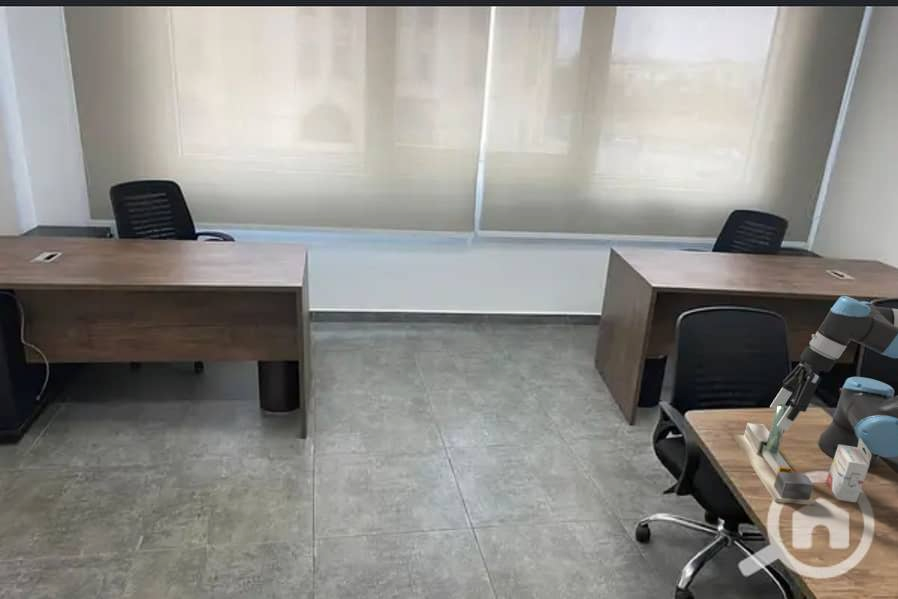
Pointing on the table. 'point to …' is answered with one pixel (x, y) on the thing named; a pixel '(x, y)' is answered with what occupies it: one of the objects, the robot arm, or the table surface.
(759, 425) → the tube rig
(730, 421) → the table surface
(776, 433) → the tube
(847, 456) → the ink cartridge box
